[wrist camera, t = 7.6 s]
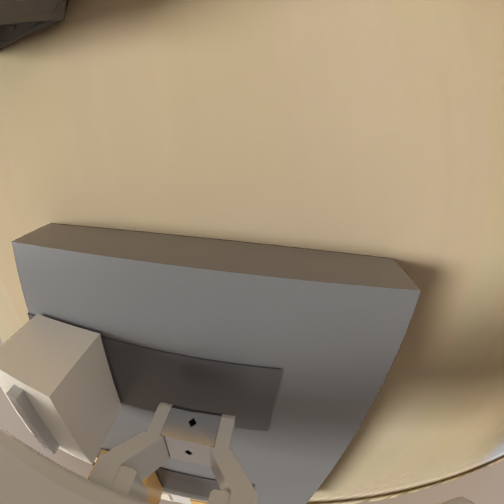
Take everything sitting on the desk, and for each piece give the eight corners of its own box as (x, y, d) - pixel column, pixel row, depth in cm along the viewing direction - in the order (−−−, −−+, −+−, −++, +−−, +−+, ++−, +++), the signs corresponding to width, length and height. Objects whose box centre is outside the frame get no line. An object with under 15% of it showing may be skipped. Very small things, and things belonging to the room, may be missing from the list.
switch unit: (393, 258, 12) (424, 295, 8) (296, 490, 20) (296, 518, 17) (50, 223, 13) (7, 244, 9) (125, 460, 21) (115, 484, 18)
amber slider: (152, 466, 15) (133, 517, 11) (163, 489, 17) (149, 532, 12) (102, 448, 15) (80, 494, 11) (119, 475, 17) (103, 514, 13)
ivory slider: (100, 333, 11) (40, 408, 6) (122, 407, 12) (87, 474, 8) (37, 313, 11) (-22, 368, 7) (64, 385, 13) (25, 439, 8)
